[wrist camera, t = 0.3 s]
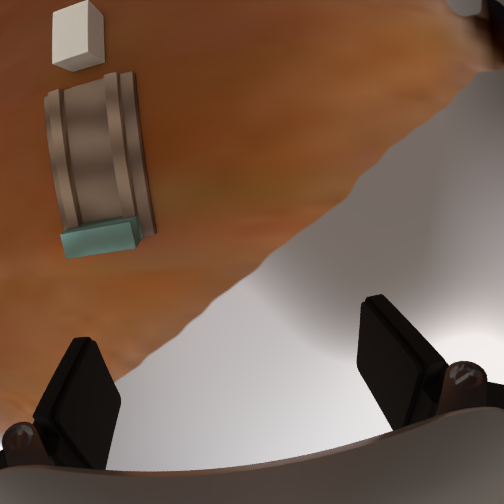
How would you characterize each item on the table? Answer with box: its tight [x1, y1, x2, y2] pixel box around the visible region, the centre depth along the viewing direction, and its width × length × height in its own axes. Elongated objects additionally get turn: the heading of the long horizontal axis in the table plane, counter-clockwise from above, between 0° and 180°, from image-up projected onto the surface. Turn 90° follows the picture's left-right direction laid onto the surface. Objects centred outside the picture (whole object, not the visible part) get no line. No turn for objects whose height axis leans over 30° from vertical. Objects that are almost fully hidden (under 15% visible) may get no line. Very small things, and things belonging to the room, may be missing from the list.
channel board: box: [44, 71, 157, 259], centre depth 33 cm, size 20×12×6 cm, turn 6°
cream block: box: [52, 0, 105, 72], centre depth 27 cm, size 7×4×6 cm, turn 6°
